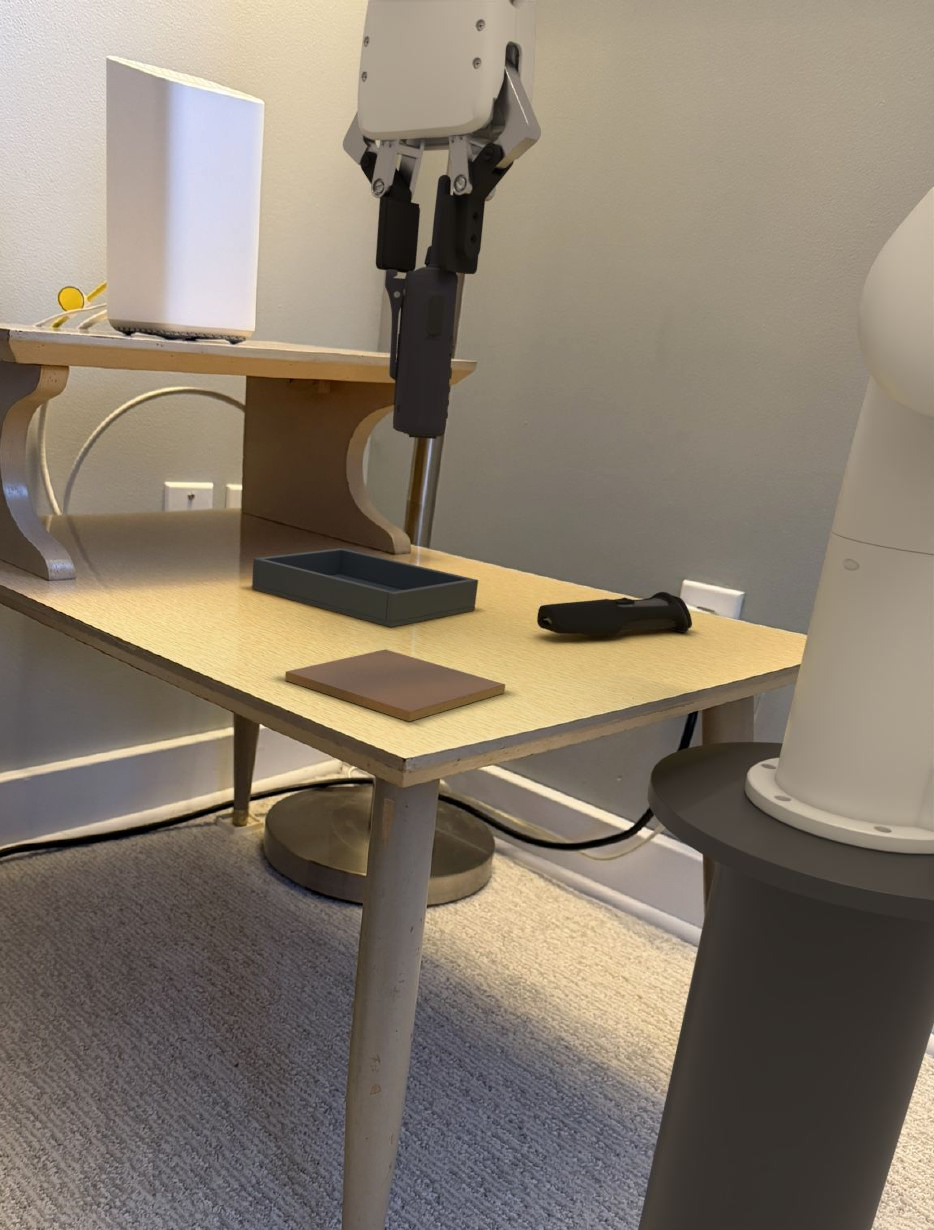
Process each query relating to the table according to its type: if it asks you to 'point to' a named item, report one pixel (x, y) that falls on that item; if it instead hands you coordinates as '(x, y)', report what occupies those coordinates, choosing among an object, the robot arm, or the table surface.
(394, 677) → the cork pad
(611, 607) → the electric trimmer
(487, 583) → the table surface
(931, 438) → the robot arm
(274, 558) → the tray
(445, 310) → the two-way radio
